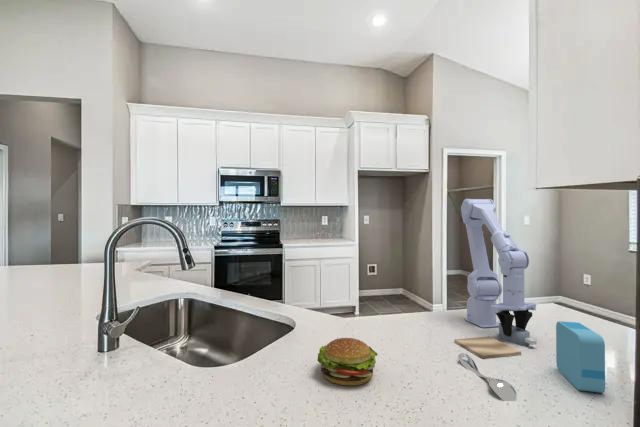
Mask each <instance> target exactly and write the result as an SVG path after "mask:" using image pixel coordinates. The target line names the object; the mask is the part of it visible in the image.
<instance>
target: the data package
mask: <svg viewBox="0 0 640 427" xmlns="http://www.w3.org/2000/svg"><path fill="white" fill-rule="evenodd" d="M555 333H556V334H555V336H556V337H555V338H556V339H555V340H556V341H555V344H556V348H555V349H556V352H555V355H556V359H555V360H556V363H555V364H556V367H557V370H558V371H559V372H560V374H562V376H564V378H566V379H567V380H568V381H569V383H570V384H571V385H572V386H573V387H574V388H576V389H577V390H578V391H582V392H589V393H598V394H599V393H601V394H604V393H605V391H606V344H605V339H604V338H603V337H602V336H601V335H600V334H599V333H596V332H595V331H594V330H592V329H590V328H588V327H587V326H586V325H584V324H582V323H581V322H576V321H575V322H574V321H573V322H572V321H562V320H561V321H557V322H556V324H555Z"/></svg>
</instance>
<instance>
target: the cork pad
mask: <svg viewBox="0 0 640 427" xmlns="http://www.w3.org/2000/svg"><path fill="white" fill-rule="evenodd" d="M453 342H454V343H455V344H456V345H458V346H460V347H462V348H464V349H465V350H467V351H469V352H470V353H472V354H473V355H475V356H476V357H478V358H480V359H483V360H484V359H485V360H486V359H494V358H495V359H497V358H501V357H502V358H503V357H511V356H513V357H514V356H521V355H522V351H521V350H518V349H516V348H514V347H512V346H510V345H507V344H506V343H504V342H502V341H500V340H497V339H496V338H494V337H491V336H478V337H468V338H457V339H454V340H453Z"/></svg>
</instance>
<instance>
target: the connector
mask: <svg viewBox="0 0 640 427" xmlns="http://www.w3.org/2000/svg"><path fill="white" fill-rule="evenodd" d="M498 323H499V326H498V336H499V337H500V338H503V339H504V340H506V341H508V342H511V343H513V344H516V345H519V346H524V347H525V346H526V347H528V346H530V345H537V341H538V340H536V339H534V338H532V337H530V335H531V334H530V331H528V330H527V329H525V330H524V329H521V328H519V327H516V325H513V324H512V333H511V337H508V336H506V335H504V333H503V329H502V325H501V323H500V322H498Z"/></svg>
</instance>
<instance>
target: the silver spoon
mask: <svg viewBox="0 0 640 427" xmlns="http://www.w3.org/2000/svg"><path fill="white" fill-rule="evenodd" d="M457 358H458V361H460V363H461V365H462V366H463V367H464V368H465V369H467V370H468V371H470V372H472V373H473V374H474V375H476V376H477V377H480V378H482V379H483V378H484V379H486V380H488V384H489V387H490V388H491V390H492V391H494V393H495V394H496V395H497V396H498V397H499V398H500V399H501V400H502V401H504V402H515V401H516V399H517V391H516V389H515V387H514V386H513V385H512V384H511V383H510V382H508V381H506V380H504V379H500V378H494V377H489V376H485V375H484V374H482V373H481V372H480V371H479V369H478V367H477V365H476V362H475V361H474V359H473V358H472V357H471V356H470V355H468V354H467V353H463V352H461V353H458V355H457ZM464 358H466V359H467V360H466V359H464ZM472 367H473V368H472Z"/></svg>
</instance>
